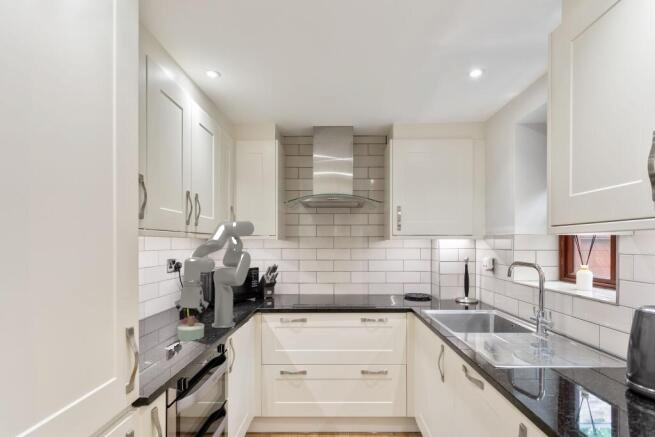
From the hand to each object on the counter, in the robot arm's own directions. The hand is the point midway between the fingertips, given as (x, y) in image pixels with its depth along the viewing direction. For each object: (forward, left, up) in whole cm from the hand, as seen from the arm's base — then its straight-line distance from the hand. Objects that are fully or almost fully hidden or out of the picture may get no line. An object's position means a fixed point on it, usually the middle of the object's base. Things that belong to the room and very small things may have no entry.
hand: (191, 319), depth 172 cm
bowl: (0, 0, -9) cm, 9 cm away
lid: (0, 0, -4) cm, 4 cm away
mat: (+14, +4, -9) cm, 17 cm away
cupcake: (-12, -8, -9) cm, 17 cm away
